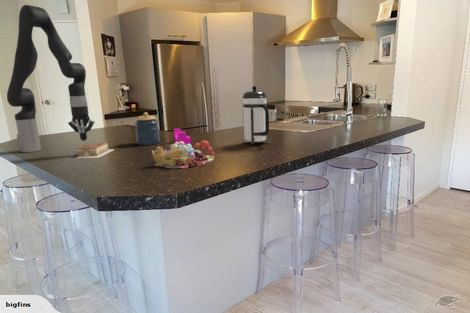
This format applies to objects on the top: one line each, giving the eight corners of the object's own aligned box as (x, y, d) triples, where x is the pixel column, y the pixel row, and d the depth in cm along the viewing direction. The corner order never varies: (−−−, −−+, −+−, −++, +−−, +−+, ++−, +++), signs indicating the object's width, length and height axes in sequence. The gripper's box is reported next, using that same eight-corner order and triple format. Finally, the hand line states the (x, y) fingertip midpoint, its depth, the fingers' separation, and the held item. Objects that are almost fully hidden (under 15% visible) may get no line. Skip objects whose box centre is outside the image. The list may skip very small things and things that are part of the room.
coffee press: (237, 145, 174) (234, 86, 168) (247, 139, 189) (245, 85, 182) (268, 146, 168) (267, 86, 161) (277, 140, 182) (276, 84, 175)
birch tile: (76, 148, 161) (96, 147, 160) (88, 143, 173) (107, 142, 172) (77, 156, 162) (97, 155, 161) (89, 150, 174) (108, 150, 173)
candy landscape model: (195, 172, 129) (193, 148, 127) (143, 168, 137) (141, 146, 135) (219, 157, 152) (218, 137, 150) (174, 155, 160) (172, 136, 158)
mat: (75, 158, 159) (75, 157, 159) (94, 150, 176) (94, 149, 176) (98, 158, 158) (98, 157, 158) (114, 149, 175) (114, 149, 175)
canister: (164, 141, 192) (162, 111, 188) (148, 146, 181) (144, 113, 177) (149, 140, 199) (146, 110, 195) (131, 144, 188) (128, 113, 184)
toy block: (191, 145, 180) (190, 131, 178) (179, 146, 178) (178, 132, 176) (185, 141, 194) (184, 128, 192) (174, 142, 191) (173, 129, 190)
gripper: (61, 106, 159) (67, 142, 163) (88, 105, 158) (93, 141, 162) (70, 105, 166) (75, 139, 170) (95, 104, 165) (100, 138, 169)
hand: (84, 140), depth 166 cm, fingers closed
